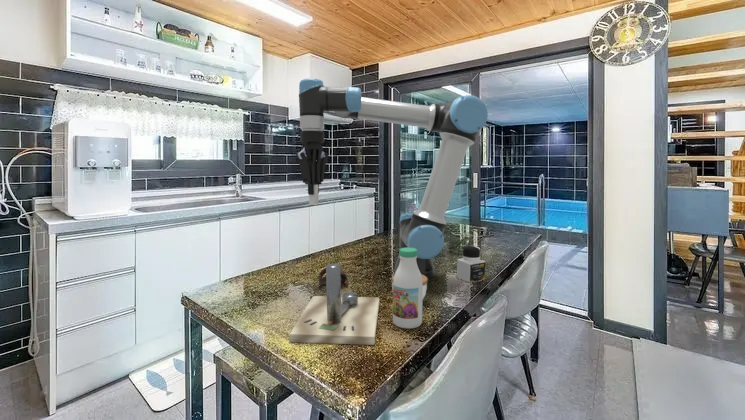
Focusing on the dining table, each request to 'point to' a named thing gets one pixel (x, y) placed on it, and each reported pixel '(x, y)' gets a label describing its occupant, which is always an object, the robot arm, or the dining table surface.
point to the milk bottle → (407, 291)
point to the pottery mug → (323, 279)
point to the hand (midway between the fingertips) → (313, 204)
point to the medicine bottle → (471, 265)
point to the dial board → (338, 323)
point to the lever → (337, 294)
